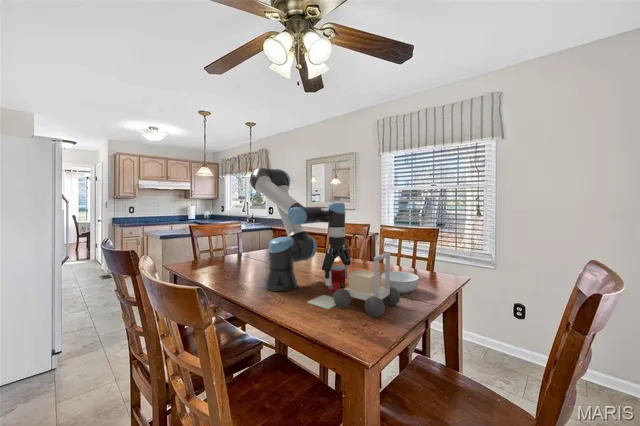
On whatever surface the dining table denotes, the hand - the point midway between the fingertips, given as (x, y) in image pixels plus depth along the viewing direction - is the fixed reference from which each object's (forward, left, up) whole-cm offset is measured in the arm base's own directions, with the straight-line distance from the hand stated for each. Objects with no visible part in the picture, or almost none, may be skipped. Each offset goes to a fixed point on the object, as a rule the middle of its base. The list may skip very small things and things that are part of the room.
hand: (337, 282), depth 128 cm
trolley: (+20, -8, -4) cm, 22 cm away
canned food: (0, 0, -4) cm, 4 cm away
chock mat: (+5, -15, -4) cm, 16 cm away
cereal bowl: (+23, +18, -4) cm, 29 cm away
